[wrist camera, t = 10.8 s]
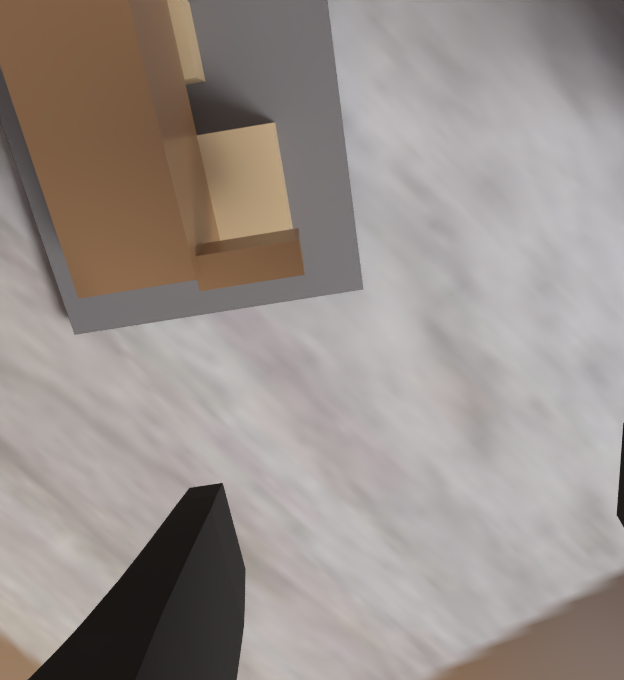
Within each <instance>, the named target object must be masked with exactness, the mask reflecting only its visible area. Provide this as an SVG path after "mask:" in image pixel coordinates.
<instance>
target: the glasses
mask: <svg viewBox="0 0 624 680" xmlns="http://www.w3.org/2000/svg"><path fill="white" fill-rule="evenodd" d="M0 66H1V69H2V72H3V75H4V78H5V81H6V84H7V87H8V90H9V93H10V96H11V99H12V102H13V105H14V108H15V111H16V114H17V117H18V120H19V123H20V126H21V129H22V132H23V135H24V138H25V141H26V144H27V147H28V150H29V153H30V156H31V159H32V162H33V165H34V168H35V171H36V174H37V177H38V180H39V183H40V186H41V189H42V192H43V194H44V197H45V200H46V203H47V206H48V209H49V212H50V215H51V218H52V221H53V224H54V227H55V230H56V233H57V236H58V239H59V242H60V245H61V248H62V251H63V254H64V257H65V260H66V263H67V266H68V269H69V272H70V275H71V278H72V281H73V284H74V287H75V290H76V293H77V296H78V299H80V298H86V297H92V296H99V295H105V294H111V293H117V292H124V291H130V290H136V289H142V288H149V287H155V286H161V285H167V284H174V283H180V282H186V281H192V280H197V281H198V285H199V290H200V291H206V290H212V289H218V288H225V287H231V286H237V285H243V284H250V283H256V282H262V281H269V280H275V279H281V278H287V277H294V276H300V275H305V271H304V258H303V252H302V246H301V240H300V234H299V228H295V229H289V230H283V231H277V232H271V233H264V234H258V235H252V236H246V237H240V238H234V239H227V240H221V241H220V238H219V233H218V229H217V224H216V220H215V215H214V211H213V206H212V202H211V197H210V193H209V188H208V184H207V179H206V175H205V170H204V166H203V161H202V157H201V152H200V148H199V143H198V138H197V134H196V129H195V125H194V120H193V116H192V111H191V107H190V102H189V98H188V93H187V89H186V84H185V80H184V75H183V71H182V66H181V62H180V57H179V53H178V48H177V44H176V39H175V35H174V30H173V26H172V21H171V16H170V12H169V7H168V3H167V0H0Z"/></svg>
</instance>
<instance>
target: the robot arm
mask: <svg viewBox="0 0 624 680" xmlns="http://www.w3.org/2000/svg"><path fill="white" fill-rule="evenodd" d="M617 516H618V518H619V520H620V521H621V523H622V525H623V527H624V423H623V436H622V450H621V464H620V477H619V491H618V505H617ZM244 610H245V566H244V562H243V558H242V554H241V551H240V547H239V543H238V539H237V535H236V532H235V528H234V524H233V520H232V517H231V513H230V509H229V505H228V501H227V498H226V494H225V490H224V486H223V483H219V484H213V485H206V486H199V487H193V488H189V489H188V491H187V492H186V493H185V495H184V496H183V497H182V498H181V500H180V501H179V502H178V504H177V505H176V506H175V508H174V509H173V510H172V512H171V513H170V514H169V516H168V517H167V518H166V520H165V521H164V522H163V524H162V525H161V526H160V528H159V529H158V530H157V532H156V533H155V534H154V536H153V537H152V538H151V540H150V541H149V542H148V544H147V545H146V546H145V547H144V549H143V550H142V551H141V553H140V554H139V555H138V556H137V558H136V559H135V560H134V561H133V563H132V564H131V565H130V567H129V568H128V569H127V570H126V572H125V573H124V574H123V575H122V577H121V578H120V579H119V580H118V582H117V583H116V584H115V585H114V586H113V588H112V589H111V590H110V591H109V592H108V593H107V595H106V596H105V597H104V598H103V599H102V600H101V602H100V603H99V604H98V605H97V606H96V607H95V609H94V610H93V611H92V612H91V613H90V614H89V616H88V617H87V618H86V619H85V620H84V621H83V623H82V624H81V625H80V626H79V627H78V628H77V629H76V630H75V632H74V633H73V634H72V635H71V636H70V637H69V638H68V639H67V640H66V641H65V642H64V643H63V644H62V645H61V647H60V648H59V649H58V650H57V651H56V652H55V653H54V654H53V655H52V656H51V657H50V658H49V659H48V660H47V661H46V662H45V663H44V664H43V665H42V666H41V667H40V668H39V669H38V670H37V671H36V672H35V673H34V674H33V675H32V676H31V677H30V678H29V679H28V680H237V673H238V665H239V658H240V651H241V644H242V636H243V629H244Z"/></svg>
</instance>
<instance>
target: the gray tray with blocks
mask: <svg viewBox="0 0 624 680" xmlns="http://www.w3.org/2000/svg"><path fill="white" fill-rule="evenodd" d="M167 3H168V7H169V12H170V16H171V21H172V26H173V30H174V35H175V39H176V44H177V48H178V53H179V57H180V62H181V66H182V71H183V75H184V80H185V84H186V89H187V93H188V98H189V102H190V107H191V111H192V116H193V120H194V125H195V129H196V134H197V138H198V143H199V148H200V152H201V157H202V161H203V166H204V170H205V175H206V179H207V184H208V188H209V193H210V197H211V202H212V206H213V211H214V215H215V220H216V224H217V229H218V233H219V238H220V241H221V240H227V239H234V238H240V237H246V236H252V235H258V234H264V233H271V232H277V231H283V230H289V229H295V228H299V234H300V240H301V246H302V252H303V258H304V271H305V275H300V276H294V277H287V278H281V279H275V280H269V281H262V282H256V283H250V284H243V285H237V286H231V287H225V288H218V289H212V290H206V291H200V290H199V285H198V281H197V280H192V281H186V282H180V283H174V284H167V285H161V286H155V287H149V288H142V289H136V290H130V291H124V292H117V293H111V294H105V295H99V296H92V297H86V298H80V299H78V296H77V293H76V290H75V287H74V284H73V281H72V278H71V275H70V272H69V269H68V266H67V263H66V260H65V257H64V254H63V251H62V248H61V245H60V242H59V239H58V236H57V233H56V230H55V227H54V224H53V221H52V218H51V215H50V212H49V209H48V206H47V203H46V200H45V197H44V194H43V192H42V189H41V186H40V183H39V180H38V177H37V174H36V171H35V168H34V165H33V162H32V159H31V156H30V153H29V150H28V147H27V144H26V141H25V138H24V135H23V132H22V129H21V126H20V123H19V120H18V117H17V114H16V111H15V108H14V105H13V102H12V99H11V96H10V93H9V90H8V87H7V84H6V81H5V78H4V75H3V72H2V69H1V66H0V121H1V123H2V126H3V129H4V132H5V135H6V138H7V141H8V144H9V146H10V149H11V152H12V155H13V158H14V161H15V164H16V167H17V170H18V172H19V175H20V178H21V181H22V184H23V187H24V190H25V193H26V195H27V198H28V201H29V204H30V207H31V210H32V213H33V216H34V219H35V221H36V224H37V227H38V230H39V233H40V236H41V239H42V242H43V245H44V247H45V250H46V253H47V256H48V259H49V262H50V265H51V268H52V270H53V273H54V276H55V279H56V282H57V285H58V288H59V291H60V294H61V296H62V299H63V302H64V305H65V308H66V311H67V314H68V317H69V319H70V322H71V325H72V328H73V331H74V334H75V335H76V334H82V333H88V332H95V331H101V330H107V329H114V328H120V327H126V326H133V325H139V324H145V323H152V322H158V321H165V320H171V319H177V318H184V317H190V316H196V315H203V314H209V313H215V312H222V311H228V310H234V309H241V308H247V307H254V306H260V305H266V304H273V303H279V302H285V301H292V300H298V299H304V298H311V297H317V296H323V295H330V294H336V293H343V292H349V291H355V290H362V289H363V284H362V276H361V268H360V260H359V252H358V244H357V235H356V227H355V219H354V211H353V203H352V195H351V187H350V179H349V171H348V163H347V155H346V147H345V139H344V131H343V123H342V115H341V106H340V98H339V90H338V82H337V74H336V66H335V58H334V50H333V42H332V34H331V26H330V18H329V10H328V2H327V0H167Z"/></svg>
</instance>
